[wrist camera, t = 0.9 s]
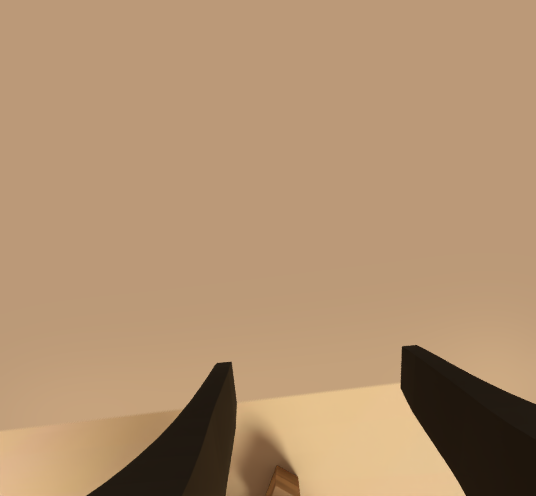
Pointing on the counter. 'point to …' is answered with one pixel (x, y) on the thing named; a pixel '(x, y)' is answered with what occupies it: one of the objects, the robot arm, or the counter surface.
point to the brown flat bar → (283, 484)
